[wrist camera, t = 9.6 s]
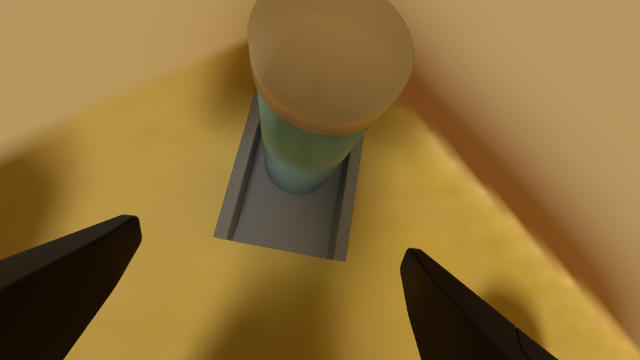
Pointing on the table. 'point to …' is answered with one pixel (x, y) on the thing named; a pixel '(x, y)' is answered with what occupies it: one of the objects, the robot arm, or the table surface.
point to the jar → (323, 81)
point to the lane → (287, 203)
